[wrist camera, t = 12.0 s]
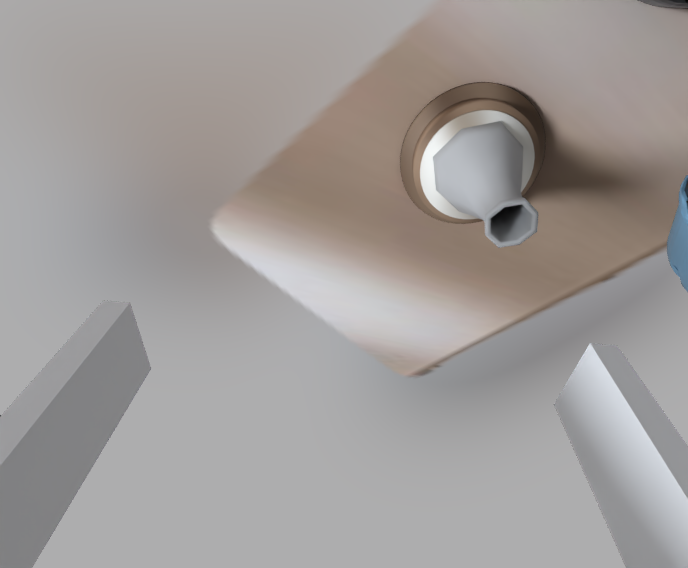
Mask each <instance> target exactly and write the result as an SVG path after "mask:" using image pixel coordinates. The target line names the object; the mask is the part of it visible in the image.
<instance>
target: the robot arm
mask: <svg viewBox="0 0 688 568" xmlns="http://www.w3.org/2000/svg"><path fill="white" fill-rule="evenodd" d="M638 1H641V2H643V3H646V4H650V5H654V6H659V7H674V8H688V0H638ZM667 254H668V259H669V262H670V265H671V267H672V268H673V270H674V272H675V273H676V274H677V275H678V276H679V277H680V280H681V284H682V286H683V287H684V288H685V289H686V290H687V292H688V175H687V176H686V177H685V179H684V181H683V182H682V185H681V188H680V192H679V206H678V209H677V212H676V215H675V218H674V221H673V224H672V227H671V230H670V233H669V236H668V242H667ZM150 370H151V367H150V364H149V361H148V357H147V354H146V351H145V348H144V345H143V342H142V339H141V335H140V332H139V329H138V326H137V323H136V320H135V317H134V314H133V311H132V307H131V304H130V303H128V302H117V301H105V300H104V301H102V303H101V304H100V305H99V306H98V307H97V308H96V310H95V311H94V312H93V313H92V314H91V315H90V316H89V317H88V318H87V319H86V321H85V322H84V323H83V324H82V325H81V326H80V327H79V328H78V330H77V331H76V332H75V333H74V334H73V335H72V336H71V338H70V339H69V340H68V341H67V342H66V343H65V344H64V345H63V347H62V348H61V349H60V350H59V351H58V352H57V353H56V354H55V355H54V357H53V358H52V359H51V360H50V361H49V362H48V363H47V365H46V366H45V367H44V368H43V369H42V370H41V372H39V373H38V375H37V376H36V377H35V378H34V379H33V380H32V381H31V383H30V384H29V385H28V386H27V387H26V388H25V389H24V390H23V392H22V393H21V394H20V395H19V396H18V397H17V398H16V400H14V402H13V403H12V404H11V405H10V406H9V407H8V408H7V410H6V411H5V412H4V413H3V414H2V415H0V568H32V567H33V565H34V564H35V562H36V560H37V559H38V557H39V555H40V554H41V552H42V550H43V549H44V547H45V545H46V543H47V542H48V540H49V539H50V537H51V535H52V534H53V532H54V530H55V529H56V527H57V525H58V523H59V522H60V520H61V519H62V517H63V515H64V513H65V512H66V510H67V509H68V507H69V505H70V503H71V502H72V500H73V498H74V497H75V495H76V493H77V492H78V490H79V488H80V486H81V485H82V483H83V482H84V480H85V478H86V476H87V475H88V473H89V472H90V470H91V468H92V467H93V465H94V463H95V462H96V460H97V458H98V457H99V455H100V453H101V452H102V450H103V448H104V446H105V445H106V443H107V441H108V440H109V438H110V437H111V435H112V433H113V431H114V430H115V428H116V427H117V425H118V423H119V421H120V420H121V418H122V416H123V415H124V413H125V411H126V410H127V408H128V406H129V404H130V403H131V401H132V400H133V398H134V396H135V395H136V393H137V391H138V390H139V388H140V386H141V385H142V383H143V381H144V380H145V378H146V376H147V375H148V373H149V371H150ZM554 406H555V408H556V411H557V413H558V415H559V417H560V420H561V422H562V424H563V426H564V429H565V431H566V433H567V435H568V438H569V440H570V442H571V444H572V447H573V449H574V451H575V453H576V456H577V458H578V460H579V463H580V465H581V467H582V469H583V472H584V474H585V476H586V478H587V481H588V483H589V485H590V487H591V490H592V492H593V494H594V496H595V499H596V501H597V503H598V505H599V508H600V510H601V512H602V514H603V517H604V519H605V521H606V523H607V526H608V528H609V530H610V533H611V534H612V537H613V539H614V541H615V544H616V546H617V548H618V550H619V553H620V555H621V557H622V560H623V562H624V564H625V566H626V568H688V446H687V444H686V443H685V441H684V440H683V439H682V437H681V436H680V434H679V433H678V432H677V430H676V429H675V427H674V426H673V424H672V423H671V422H670V420H669V419H668V417H667V416H666V414H665V413H664V411H663V410H662V409H661V407H660V406H659V404H658V403H657V401H656V400H655V399H654V397H653V396H652V394H651V393H650V391H649V390H648V389H647V387H646V386H645V384H644V383H643V381H642V380H641V379H640V377H639V376H638V375H637V373H636V371H635V370H634V369H633V367H632V366H631V364H630V363H629V362H628V360H627V359H626V357H625V356H624V354H623V353H622V351H621V350H620V349H619V347H618V346H617V345H606V344H595V343H590V344H589V346H588V348H587V349H586V351H585V353H584V354H583V356H582V358H581V359H580V361H579V363H578V365H577V366H576V368H575V370H574V371H573V373H572V375H571V377H570V378H569V380H568V382H567V383H566V385H565V387H564V388H563V390H562V392H561V393H560V395H559V397H558V399H557V400H556V402H555V404H554Z"/></svg>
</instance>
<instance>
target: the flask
mask: <svg viewBox="0 0 688 568" xmlns="http://www.w3.org/2000/svg"><path fill="white" fill-rule="evenodd" d="M433 163H434V174H435V185H436V191H438V192H439V193H440V194H441V195H442V196H443V197H444V198H445V199H446V200H447V201H448V202H449V203H450V204H451V205H452V206H453V207H455V208H456V209H457V210H458V211H459V212H462V213H465V214H468V215H472V216H474V217H477V218H479V219H482V220H484V222H485V235H486V236H487V237H488V238H489V239H490V240H491V241H492V242H493V243H494V244H495V245H496V246H497V247H498V248H500V247H506V246H513V245H519V244H521V243H522V242H524V241H525V240H526V239H528V238H529V237H530V236H532V235H533V234H534V233H536V232H537V224H538V212H537V211H536V209H535V208H534V207H533V206H532V205H531V204H530V203H529V202H528V201H527V200H526V199H525V198H524V197H522V194H521V186H522V166H523V146H522V145H521V144H520V142H519V141H518V140H517V139H516V138H515V137H514V136H513V135H512V133H511V132H510V131H509V130H508V129H507V128H506V127H505V126H504V125H503V123H502V122H501V121H498V122H493V123H488V124H483V125H478V126H473V127H468V128H463V129H461V130H460V131H459V132H458V133H457V134H456V135H454V136H453V137H452V138H451V139H450V140H449V141H448V142H447V143H446V144H445V145H444V146H443V147H442V148H441V149H440V150H439V151H438V152H437V153H436V154H435V155H434V156H433Z"/></svg>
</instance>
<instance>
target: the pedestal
mask: <svg viewBox="0 0 688 568" xmlns="http://www.w3.org/2000/svg"><path fill="white" fill-rule="evenodd" d="M498 121H501V122H502V123H503V125H504V126H505V127H506V128H507V129H508V130H509V131H510V132H511V133H512V135H513V136H514V137H515V138H516V139H517V140H518V141H519V142H520V144H521V145H522V146H523V166H522V186H521V194H522V196H523V195H524V194H525V193H526V192H527V191H528V189H529V188H530V187H531V185H532V184H533V182H534V180H535V179H536V177H537V175H538V173H539V171H540V168H541V165H542V162H543V159H544V153H545V131H544V127H543V123H542V120H541V118H540V116H539V114H538V112H537V110H536V109H535V108H534V106H533V105H532V104H531V103H530V102H529V101H528V100H527V99H526V98H525V97H524V96H523V95H521V94H520V93H518V92H517V91H515V90H513V89H511V88H509V87H507V86H504V85H501V84H496V83H490V82H477V83H469V84H465V85H461V86H458V87H455V88H453V89H450V90H448V91H446V92H445V93H443V94H441V95H439V96H438V97H436V98H435V99H434V100H432V101H431V102H430V103H429V104H428V105H427V106H426V107H424V108H423V109H422V111H421V112H420V113H419V114H418V115H417V117H416V118H415V119H414V121H413V122H412V124H411V125H410V127H409V129H408V131H407V134H406V136H405V139H404V142H403V145H402V150H401V157H400V169H401V176H402V181H403V184H404V187H405V189H406V191H407V193H408V195H409V197H410V198H411V200H412V201H413V203H414V204H415V205H416V206H417V207H418V208H419V209H421V210H422V211H423V212H424V213H426V214H427V215H429V216H431V217H433V218H435V219H438V220H440V221H444V222H448V223H455V224H467V223H475V222H480V221H484V220H482V219H479V218H477V217H474V216H472V215H468V214H465V213H462V212H459V211H458V210H457V209H456V208H455V207H453V206H452V205H451V204H450V203H449V202H448V201H447V200H446V199H445V198H444V197H443V196H442V195H441V194H440V193H439V192H438V191H436V185H435V174H434V163H433V156H434V155H435V154H436V153H437V152H438V151H439V150H440V149H441V148H442V147H443V146H444V145H445V144H446V143H447V142H448V141H449V140H450V139H451V138H452V137H453V136H454V135H456V134H457V133H458V132H459V131H460V130H461V129H463V128H468V127H473V126H478V125H483V124H488V123H493V122H498Z"/></svg>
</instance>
